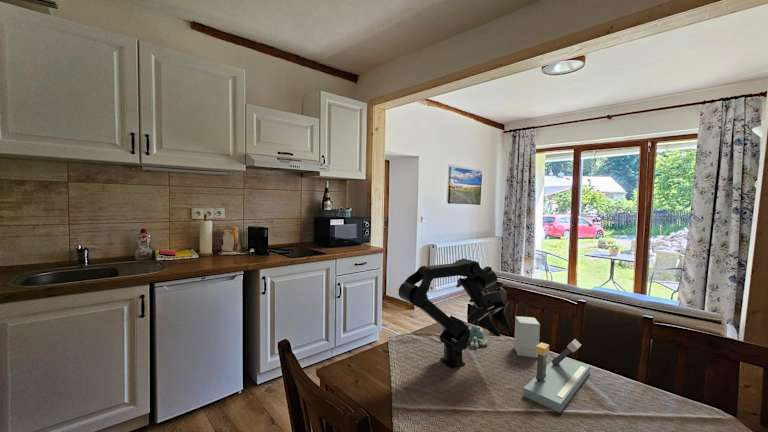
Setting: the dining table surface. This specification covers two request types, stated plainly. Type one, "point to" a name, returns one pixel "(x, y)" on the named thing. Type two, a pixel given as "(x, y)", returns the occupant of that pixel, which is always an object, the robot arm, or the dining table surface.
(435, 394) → the dining table surface
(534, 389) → the switch panel
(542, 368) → the lever
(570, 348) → the on lever
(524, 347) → the supplement box
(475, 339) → the stuffed animal
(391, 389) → the dining table surface
